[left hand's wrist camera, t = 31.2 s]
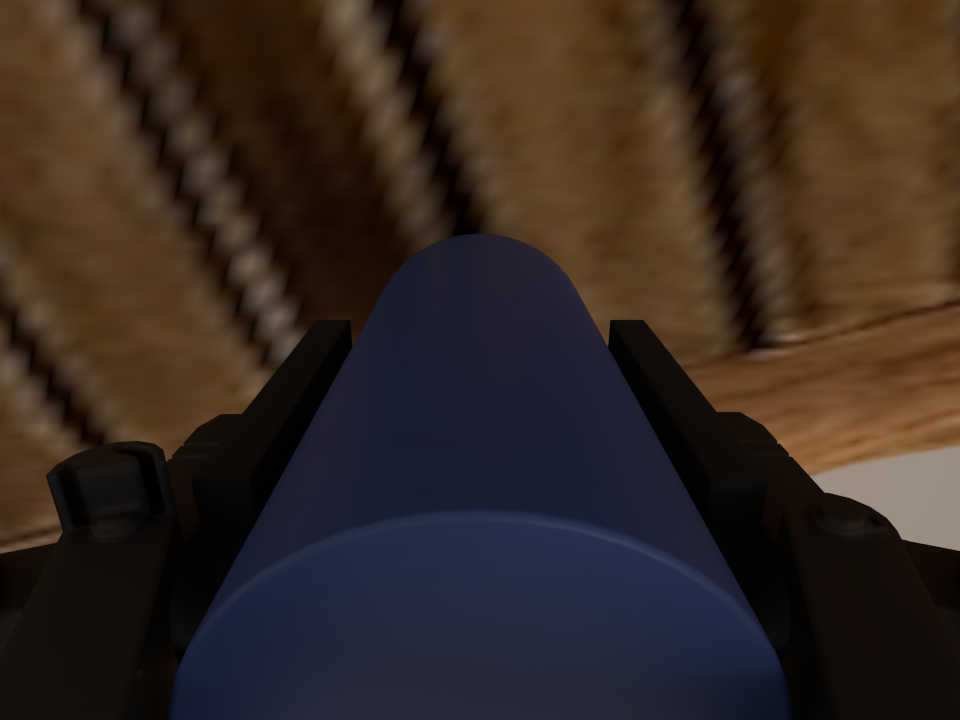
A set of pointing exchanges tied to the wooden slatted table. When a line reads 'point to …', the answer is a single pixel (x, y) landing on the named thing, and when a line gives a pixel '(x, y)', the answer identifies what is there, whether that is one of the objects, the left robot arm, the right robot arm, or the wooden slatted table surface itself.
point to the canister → (480, 532)
